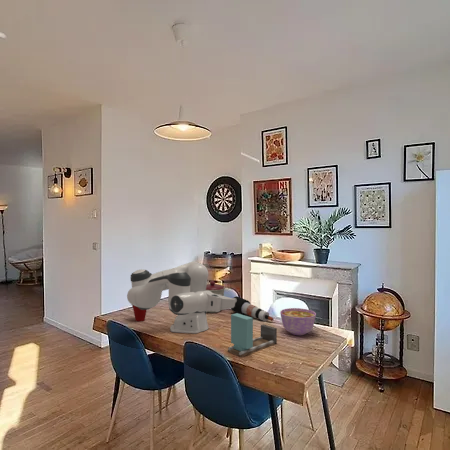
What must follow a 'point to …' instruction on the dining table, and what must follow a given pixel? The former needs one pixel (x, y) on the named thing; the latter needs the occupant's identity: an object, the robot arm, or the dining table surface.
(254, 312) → the cable
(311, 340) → the dining table surface
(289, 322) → the bowl of food
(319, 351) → the dining table surface
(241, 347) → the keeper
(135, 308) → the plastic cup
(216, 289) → the canister
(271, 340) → the rail
